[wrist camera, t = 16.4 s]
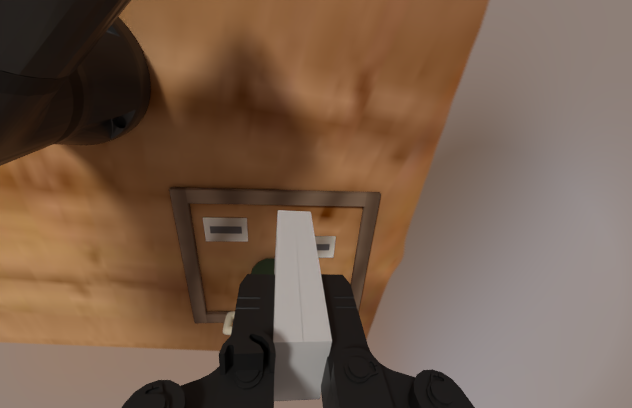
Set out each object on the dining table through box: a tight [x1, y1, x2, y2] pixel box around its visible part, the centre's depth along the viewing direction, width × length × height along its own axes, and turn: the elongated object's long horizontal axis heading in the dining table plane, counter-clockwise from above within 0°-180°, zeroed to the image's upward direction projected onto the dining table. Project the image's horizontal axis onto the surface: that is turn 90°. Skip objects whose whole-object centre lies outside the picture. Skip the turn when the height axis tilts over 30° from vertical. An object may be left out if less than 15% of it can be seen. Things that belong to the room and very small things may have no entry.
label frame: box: [169, 187, 381, 323], centre depth 44 cm, size 28×25×1 cm
